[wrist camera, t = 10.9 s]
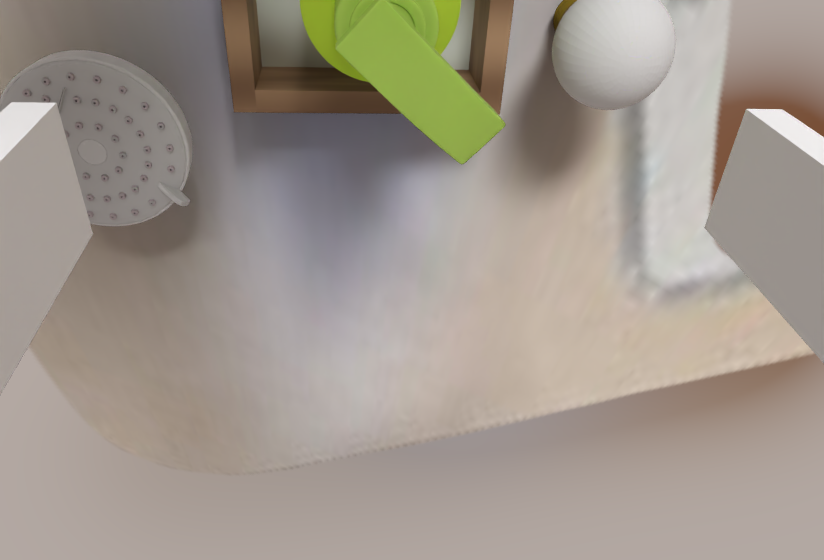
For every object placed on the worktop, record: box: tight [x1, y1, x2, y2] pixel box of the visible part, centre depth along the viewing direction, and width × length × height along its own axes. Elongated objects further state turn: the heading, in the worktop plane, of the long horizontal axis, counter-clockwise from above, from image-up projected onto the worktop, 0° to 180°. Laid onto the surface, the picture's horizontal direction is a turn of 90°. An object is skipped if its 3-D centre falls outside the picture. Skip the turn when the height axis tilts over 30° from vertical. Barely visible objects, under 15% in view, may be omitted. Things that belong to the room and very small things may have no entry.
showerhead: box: [0, 50, 193, 226], centre depth 36 cm, size 9×7×10 cm
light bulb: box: [552, 0, 676, 110], centre depth 34 cm, size 6×6×10 cm
